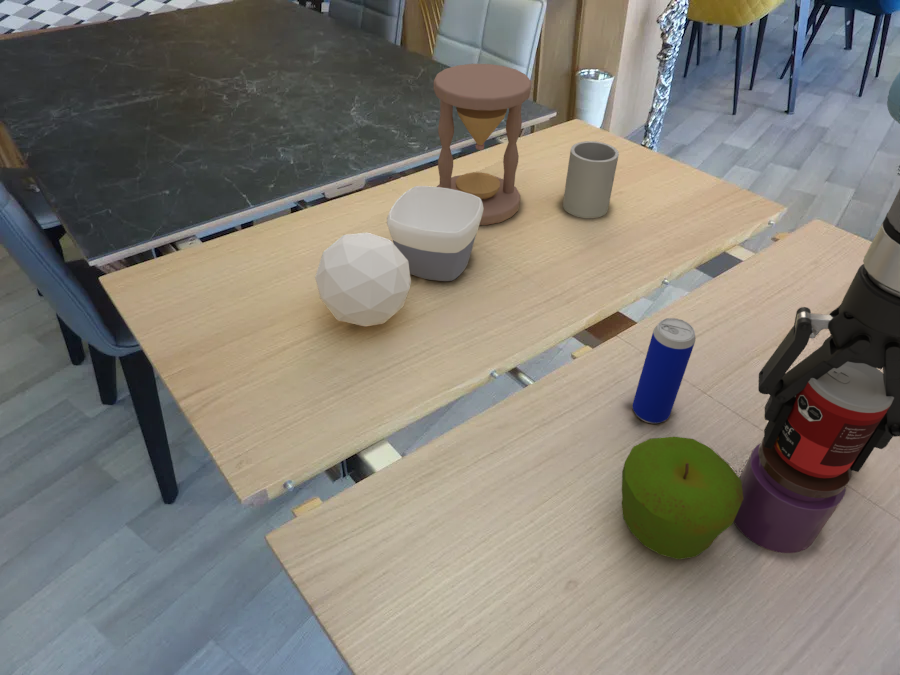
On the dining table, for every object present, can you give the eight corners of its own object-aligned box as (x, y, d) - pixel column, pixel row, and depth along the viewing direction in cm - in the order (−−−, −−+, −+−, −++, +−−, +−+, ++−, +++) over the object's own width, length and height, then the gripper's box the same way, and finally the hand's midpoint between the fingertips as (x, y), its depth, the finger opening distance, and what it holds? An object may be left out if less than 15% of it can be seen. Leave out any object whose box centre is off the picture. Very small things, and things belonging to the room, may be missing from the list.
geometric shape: (388, 329, 113) (441, 265, 107) (351, 358, 99) (410, 287, 93) (325, 273, 113) (375, 206, 107) (280, 295, 100) (334, 219, 93)
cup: (608, 220, 132) (619, 164, 124) (562, 215, 133) (570, 159, 125) (607, 198, 138) (617, 143, 131) (563, 193, 139) (571, 139, 132)
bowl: (463, 296, 112) (465, 239, 105) (379, 277, 116) (375, 221, 108) (488, 248, 123) (492, 194, 116) (411, 233, 127) (410, 179, 119)
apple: (594, 536, 77) (611, 476, 70) (634, 467, 85) (653, 406, 78) (700, 593, 72) (730, 535, 65) (732, 514, 80) (762, 454, 73)
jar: (814, 496, 82) (852, 436, 75) (818, 565, 75) (860, 506, 68) (730, 472, 85) (758, 412, 78) (726, 537, 78) (757, 477, 70)
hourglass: (517, 183, 142) (528, 64, 126) (522, 227, 129) (535, 99, 113) (435, 181, 142) (435, 61, 126) (431, 224, 129) (431, 96, 113)
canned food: (777, 414, 76) (813, 342, 69) (853, 443, 73) (899, 370, 66) (763, 460, 71) (800, 387, 64) (844, 492, 68) (893, 419, 61)
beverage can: (673, 407, 93) (702, 325, 84) (663, 431, 90) (691, 348, 80) (638, 393, 95) (662, 311, 86) (626, 416, 92) (649, 333, 82)
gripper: (780, 276, 57) (708, 448, 72) (1063, 333, 52) (922, 506, 67) (779, 233, 62) (712, 401, 77) (1035, 281, 57) (911, 451, 72)
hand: (809, 450), depth 72 cm, fingers closed on canned food, 8 cm apart
